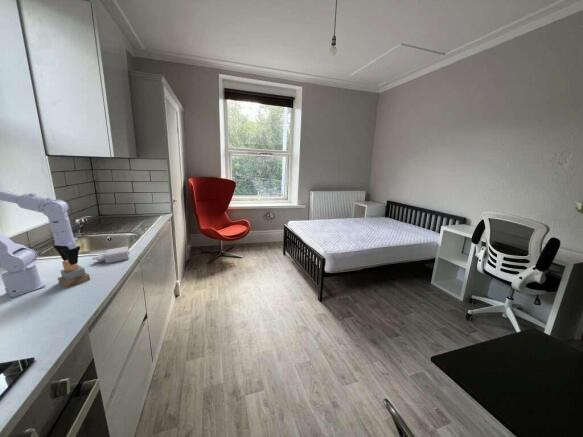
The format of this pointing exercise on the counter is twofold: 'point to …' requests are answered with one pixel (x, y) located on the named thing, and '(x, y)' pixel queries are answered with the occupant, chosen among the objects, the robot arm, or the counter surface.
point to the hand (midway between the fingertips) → (70, 261)
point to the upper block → (73, 273)
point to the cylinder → (69, 266)
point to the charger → (114, 255)
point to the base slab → (73, 280)
